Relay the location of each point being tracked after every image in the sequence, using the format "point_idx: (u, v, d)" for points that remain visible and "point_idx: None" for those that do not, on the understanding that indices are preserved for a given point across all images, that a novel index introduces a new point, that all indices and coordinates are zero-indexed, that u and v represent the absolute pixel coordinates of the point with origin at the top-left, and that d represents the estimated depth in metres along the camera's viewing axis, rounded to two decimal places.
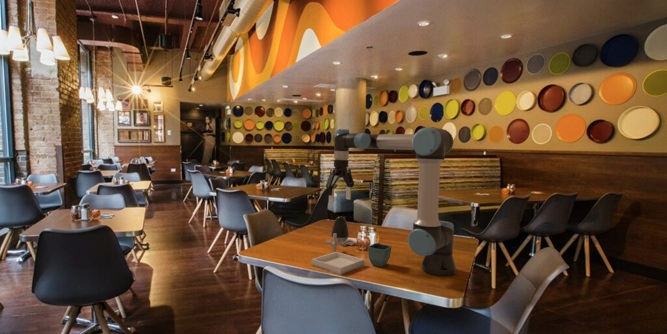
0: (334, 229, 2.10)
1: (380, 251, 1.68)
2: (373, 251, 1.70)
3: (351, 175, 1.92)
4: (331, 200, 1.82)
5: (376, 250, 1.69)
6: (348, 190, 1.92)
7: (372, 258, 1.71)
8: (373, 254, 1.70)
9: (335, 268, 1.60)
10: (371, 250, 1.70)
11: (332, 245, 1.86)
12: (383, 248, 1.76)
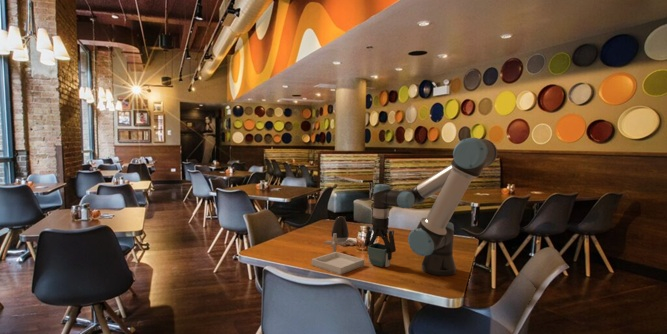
0: (334, 229, 2.10)
1: (380, 251, 1.68)
2: (373, 251, 1.70)
3: (390, 239, 1.67)
4: None
5: (376, 250, 1.69)
6: None
7: (372, 258, 1.71)
8: (373, 254, 1.70)
9: (335, 268, 1.60)
10: (371, 250, 1.70)
11: (332, 245, 1.86)
12: (383, 248, 1.76)
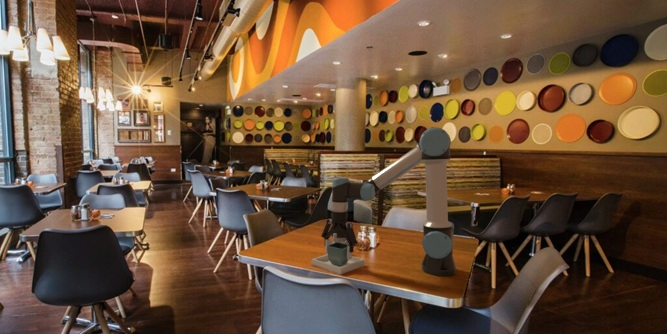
0: None
1: (338, 250, 1.64)
2: (332, 250, 1.66)
3: (350, 231, 1.64)
4: None
5: (334, 249, 1.65)
6: None
7: (331, 257, 1.67)
8: (332, 253, 1.67)
9: (335, 268, 1.60)
10: (330, 249, 1.67)
11: None
12: (344, 247, 1.72)
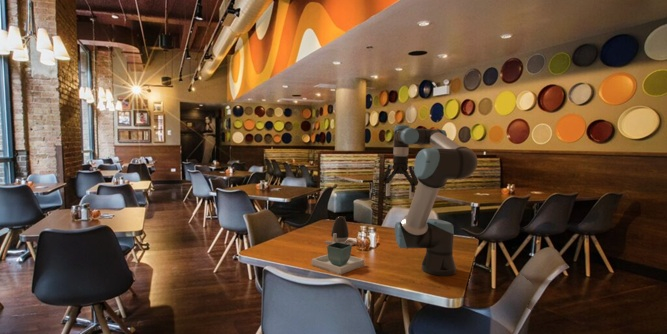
0: (334, 229, 2.10)
1: (338, 250, 1.64)
2: (332, 250, 1.66)
3: (412, 173, 1.79)
4: None
5: (334, 249, 1.65)
6: None
7: (331, 257, 1.67)
8: (332, 253, 1.67)
9: (335, 268, 1.60)
10: (330, 249, 1.67)
11: None
12: (344, 247, 1.72)
